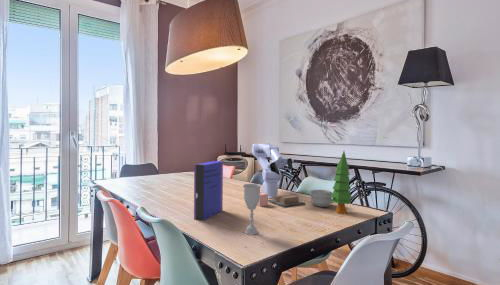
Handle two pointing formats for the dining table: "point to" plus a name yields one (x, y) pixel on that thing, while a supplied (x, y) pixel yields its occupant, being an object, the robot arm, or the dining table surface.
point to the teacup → (321, 197)
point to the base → (286, 200)
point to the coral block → (263, 199)
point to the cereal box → (208, 189)
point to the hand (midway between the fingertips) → (285, 171)
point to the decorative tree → (341, 186)
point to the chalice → (251, 203)
